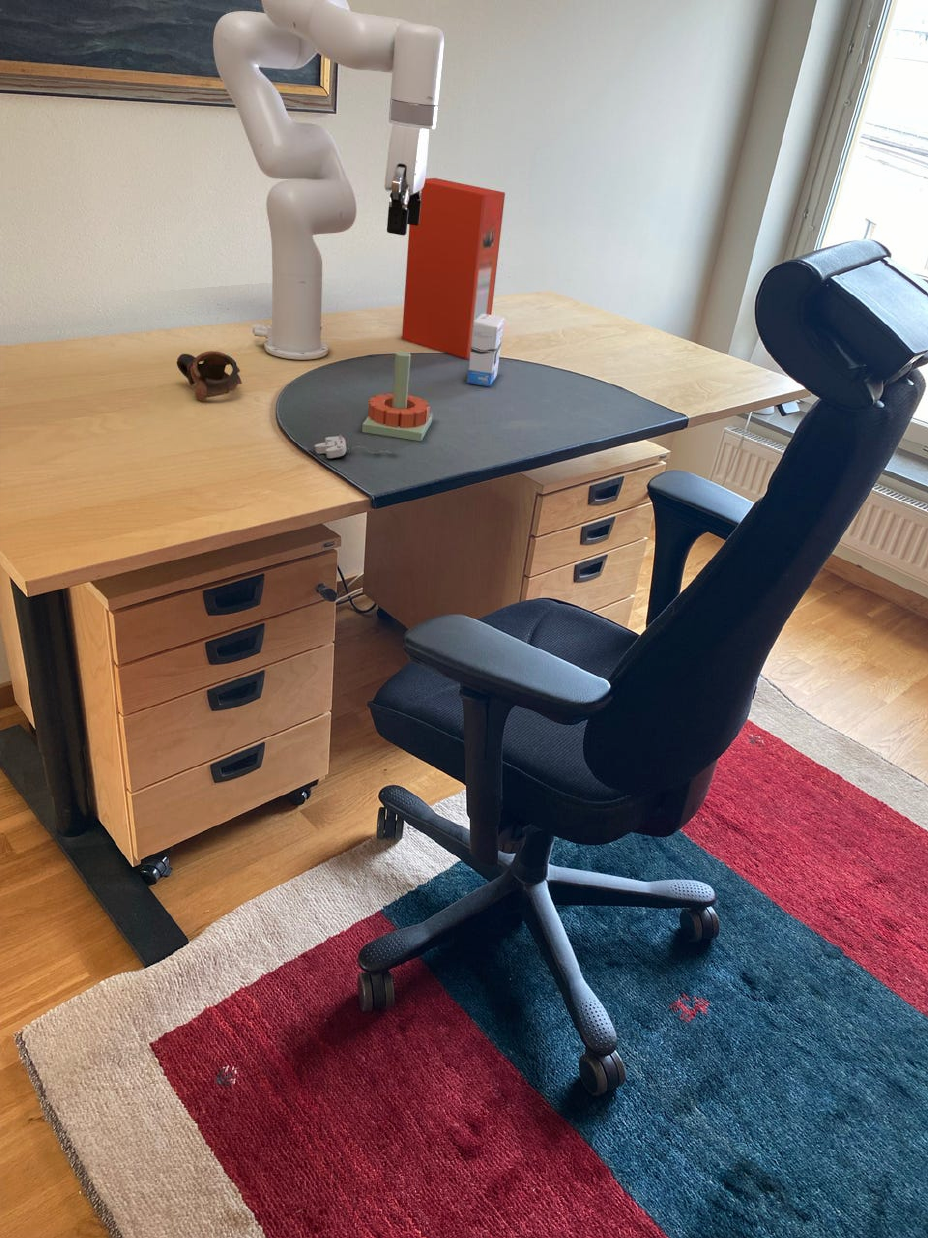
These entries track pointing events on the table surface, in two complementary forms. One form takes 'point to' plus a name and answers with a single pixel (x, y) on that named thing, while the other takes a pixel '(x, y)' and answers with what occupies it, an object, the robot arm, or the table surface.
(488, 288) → the file binder
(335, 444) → the white power plug
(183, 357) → the pottery mug
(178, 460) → the table surface
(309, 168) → the robot arm
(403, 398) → the post
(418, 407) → the ring
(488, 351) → the ink box
